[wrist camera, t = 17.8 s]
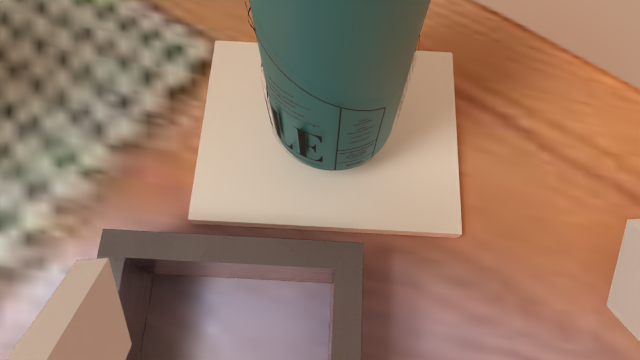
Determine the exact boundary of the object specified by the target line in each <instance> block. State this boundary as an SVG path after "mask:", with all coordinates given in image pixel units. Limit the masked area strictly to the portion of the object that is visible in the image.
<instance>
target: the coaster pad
mask: <svg viewBox="0 0 640 360" xmlns="http://www.w3.org/2000/svg"><path fill="white" fill-rule="evenodd" d="M415 54H416V56H415V57H416V58H415V59H416V60H417V61H416V62H415V61H414V62H413V63H414V65H413V64H411V67H410V68H411V72H409V73H411V74H410V77H409V74H408V78H407V79H408V80H407V81H408V82H407V83H408V84H407V83H406V84H407V85H408V86H407V85H406V84H405V87H404V90H403V94H402V97H401V102H400V103H401V105H400V104H399V107H398V115H399V116H398V117H399V118H397V113H396V117H395V120H394V123H393V126H392V130H391V133H390V135H389V137H388V139H387V141H386V143H385V144H384V146H383V147H382V148H381V149H380V150H379V152H377V153H376V154H375V155H374V156H373V157H372V159H371V158H370V159H371V160H370V159H369V160H370V161H369V160H367V161H368V162H367V161H366V162H364V163H365V164H364V163H362V164H363V165H361V164H360V166H359V165H358V166H357V167H356V166H355V168H350V169H346V170H333V171H330V170H321V169H317V168H313V167H311V166H308V165H307V164H306V165H305V163H304V164H303V162H302V163H301V161H300V160H299V161H300V162H299V161H298V159H297V158H296V159H297V160H296V159H295V157H294V156H293V155H292V154H291V153H290V152H289V151H288V150H287V149H286V148H285V147H284V146H283V145H282V144H281V141H279V140H280V139H279V137H278V135H277V133H276V132H275V131H276V130H275V127H274V122H273V117H272V112H271V107H270V103H269V104H268V105H269V106H268V107H270V110H269V113H268V109H269V108H268V109H267V104H266V101H267V91H266V89H265V88H266V82H265V77H264V75H263V74H264V72H263V67H261V63H262V62H261V57H260V52H259V47H258V43H255V42H236V41H216V40H215V47H214V53H213V60H212V66H211V73H210V79H209V85H208V92H207V98H206V105H205V111H204V118H203V124H202V131H201V137H200V143H199V150H198V156H197V163H196V169H195V176H194V182H193V189H192V195H191V201H190V208H189V214H188V220H189V222H190V223H191V224H206V225H225V226H244V227H262V228H281V229H300V230H318V231H337V232H356V233H374V234H393V235H412V236H430V237H449V238H458V237H459V236H461V235H462V222H461V203H460V185H459V167H458V148H457V130H456V111H455V93H454V74H453V56H452V52H434V51H416V53H414V55H415ZM417 55H418V56H417ZM413 60H414V59H413ZM413 60H412V61H413ZM412 66H415V67H413V68H412ZM412 69H413V70H412ZM261 70H262V71H261ZM409 78H410V79H409ZM409 81H410V82H409ZM262 85H263V86H262ZM406 86H407V90H406ZM263 90H264V91H263ZM406 91H407V92H406ZM406 93H407V94H406ZM264 94H265V95H264ZM404 97H405V98H404ZM265 98H266V100H265ZM403 99H404V100H403ZM268 102H269V97H268V101H267V103H268ZM402 102H404V103H402ZM401 106H402V107H401ZM400 107H401V108H400ZM399 108H400V110H401V111H400V110H399ZM399 113H400V114H399ZM269 114H270V117H271V121H272V124H273V126H272V124H271V121H270V117H269ZM397 121H398V122H397ZM273 127H274V128H273ZM272 128H273V129H272ZM276 136H277V137H278V138H277V137H276ZM277 140H278V141H277ZM279 143H280V144H279ZM283 148H284V149H285V150H286V151H287V152H288V153H289V154H288V153H287V152H286V151H285V150H284V149H283ZM292 156H293V157H294V158H293V157H292Z"/></svg>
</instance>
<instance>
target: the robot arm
mask: <svg viewBox="0 0 640 360" xmlns="http://www.w3.org/2000/svg"><path fill="white" fill-rule="evenodd" d="M606 306H607V307H608V308H609V309H610V311H611V312H612V313H613V314H614V315H615V316H616V317H617V318H618V319H619V320H620V321H621V322H622V323H623V324H624V326H625V327H626V328H627V329H628V330H629V331H630V332H631V333H632V334H633V335H634V336H635V337H636V338H637V339H638V341H639V342H640V219H629V220H627V223H626V227H625V231H624V235H623V239H622V244H621V248H620V252H619V256H618V260H617V264H616V268H615V272H614V276H613V280H612V285H611V289H610V293H609V297H608V301H607V305H606ZM131 345H132V343H131V339H130V336H129V332H128V328H127V324H126V321H125V317H124V313H123V310H122V306H121V302H120V299H119V295H118V291H117V287H116V284H115V280H114V276H113V273H112V269H111V265H110V262H109V258H102V259H88V260H77V261H76V262H75V264H74V265H73V267H72V268H71V269H70V271H69V272H68V274H67V275H66V276H65V278H64V279H63V281H62V282H61V283H60V285H59V286H58V288H57V289H56V290H55V292H54V293H53V295H52V296H51V297H50V299H49V300H48V302H47V303H46V305H45V306H44V307H43V309H42V310H41V312H40V313H39V314H38V316H37V317H36V319H35V320H34V321H33V323H32V324H31V326H30V327H29V328H28V330H27V331H26V333H25V334H24V335H23V337H22V338H21V340H20V341H19V342H18V344H17V345H16V347H15V348H14V349H13V351H12V352H11V354H10V355H9V356H8V358H7V359H6V360H126V357H127V355H128V352H129V350H130V348H131Z"/></svg>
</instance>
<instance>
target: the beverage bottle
mask: <svg viewBox="0 0 640 360" xmlns="http://www.w3.org/2000/svg"><path fill="white" fill-rule="evenodd" d="M249 1H250V6H251V7H250V9H251V11H252V17H253V22H254V26H253V27H255V28H253V27H252V26H251V24H250V26H251V27H252V28H253V29H254V31H255V33H256V37H257V42H258V47H259V52H260V57H261V62H262V63H261V67H263V72H264V74H263V75H264V77H265V82H266V88H265V89H266V91H267V101H268V97H269V102H268V103H267V101H266V104H267V109H268V108H269V109H268V113H269V110H270V107H271V112H272V117H273V122H274V127H275V130H276V131H275V132H276V133H277V135H278V137H279V139H280V140H279V141H281V144H282V145H283V146H284V147H285V148H286V149H287V150H288V151H289V152H290V153H291V154H292V155H293V156H294V157H295V159H296V158H297V159H298V161H299V160H300V161H301V163H302V162H303V164H304V163H305V165H306V164H307V165H308V166H311V167H313V168H317V169H321V170H330V171H333V170H346V169H350V168H355V166H356V167H357V166H358V165H359V166H360V164H361V165H363V164H362V163H364V162H366V161H367V160H369V159H370V158H371V159H372V157H373V156H374V155H375V154H376V153H377V152H379V150H380V149H381V148H382V147H383V146H384V144H385V143H386V141H387V139H388V137H389V135H390V133H391V130H392V126H393V123H394V120H395V117H396V113H397V118H399V117H398V116H399V115H398V107H399V104H400V105H401V103H400V102H401V97H402V94H403V90H404V87H405V84H406V83H407V82H408V81H407V80H408V79H407V78H408V74H409V77H410V74H411V73H409V72H411V68H410V67H411V64H413V65H414V63H413V62H414V61H415V62H416V61H417V60H416V59H415V58H416V57H415V56H416V54H415V55H414V53H416V50H415V48H416V44H417V41H418V38H419V41H420V32H421V29H422V25H423V22H424V19H425V16H426V13H427V10H428V7H429V4H430V0H249ZM245 4H246V3H245ZM246 7H247V6H246ZM250 9H249V11H250ZM247 11H248V10H247ZM248 15H249V12H248ZM249 17H250V15H249ZM250 19H251V18H250ZM251 22H252V21H251ZM249 23H250V22H249ZM252 24H253V23H252ZM418 51H419V49H418ZM417 56H418V55H417ZM413 59H414V60H413ZM412 60H413V61H412ZM413 67H415V66H412V68H413ZM412 70H413V69H412ZM261 71H262V70H261ZM409 79H410V78H409ZM409 82H410V81H409ZM407 84H408V83H407ZM407 84H406V85H407ZM262 86H263V85H262ZM407 86H408V85H407ZM407 86H406V90H407ZM263 91H264V90H263ZM406 92H407V91H406ZM406 94H407V93H406ZM264 95H265V94H264ZM404 98H405V97H404ZM265 100H266V98H265ZM403 100H404V99H403ZM269 103H270V107H268V106H269V105H268V104H269ZM402 103H404V102H402ZM401 107H402V106H401ZM401 107H400V108H401ZM400 108H399V110H400ZM400 111H401V110H400ZM399 114H400V113H399ZM269 117H270V114H269ZM270 121H271V117H270ZM397 122H398V121H397ZM271 124H272V121H271ZM272 126H273V124H272ZM274 127H273V128H274ZM273 128H272V129H273ZM276 137H277V136H276ZM278 137H277V138H278ZM277 141H278V140H277ZM279 144H280V143H279ZM283 149H284V148H283ZM284 150H285V149H284ZM285 151H286V150H285ZM286 152H287V151H286ZM287 153H288V152H287ZM288 154H289V153H288ZM293 156H292V157H293ZM294 157H293V158H294ZM297 159H296V160H297ZM371 159H370V160H371ZM370 160H369V161H370ZM300 161H299V162H300ZM367 162H368V161H367ZM364 164H365V163H364Z"/></svg>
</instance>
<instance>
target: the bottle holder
mask: <svg viewBox="0 0 640 360" xmlns="http://www.w3.org/2000/svg"><path fill="white" fill-rule="evenodd" d="M102 258H109V262H110V265H111V269H112V273H113V276H114V280H115V284H116V287H117V291H118V295H119V299H120V302H121V306H122V310H123V313H124V317H125V321H126V324H127V328H128V332H129V336H130V339H131V343H132V345H131V348H130V350H129V352H128V355H127V357H126V360H139V358H140V352H141V346H142V340H143V335H144V329H145V323H146V317H147V312H148V306H149V300H150V294H151V289H152V283H153V277H154V274H170V275H189V276H207V277H226V278H244V279H262V280H281V281H299V282H317V283H332V285H331V308H330V332H329V355H328V360H361V335H362V286H363V243H357V242H338V241H320V240H301V239H282V238H264V237H245V236H227V235H208V234H189V233H171V232H152V231H133V230H115V229H103V232H102V236H101V241H100V246H99V250H98V255H97V259H102Z"/></svg>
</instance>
